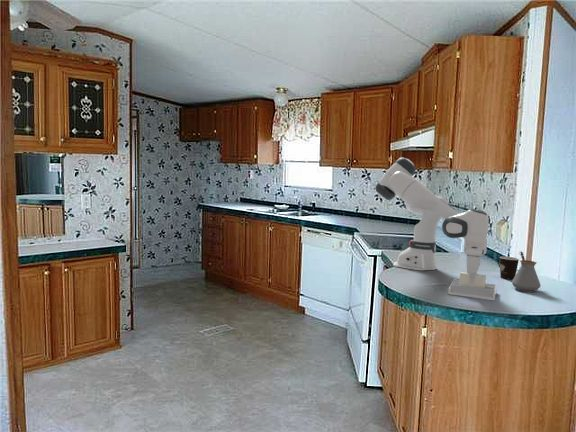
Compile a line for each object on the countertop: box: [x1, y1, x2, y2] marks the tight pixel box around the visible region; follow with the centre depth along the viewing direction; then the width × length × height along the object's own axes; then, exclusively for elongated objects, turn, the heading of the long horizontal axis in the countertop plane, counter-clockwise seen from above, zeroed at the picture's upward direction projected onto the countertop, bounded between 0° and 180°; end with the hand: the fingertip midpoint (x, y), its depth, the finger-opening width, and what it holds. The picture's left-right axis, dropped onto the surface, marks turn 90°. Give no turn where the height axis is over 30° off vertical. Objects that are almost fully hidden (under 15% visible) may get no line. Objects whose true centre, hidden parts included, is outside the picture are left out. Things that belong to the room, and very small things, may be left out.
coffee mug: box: [496, 256, 520, 281], centre depth 233 cm, size 12×9×10 cm
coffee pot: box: [511, 250, 542, 293], centre depth 214 cm, size 21×12×15 cm, turn 164°
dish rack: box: [447, 278, 497, 301], centre depth 200 cm, size 18×13×4 cm
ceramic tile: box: [459, 271, 487, 288], centre depth 197 cm, size 10×2×8 cm, turn 65°
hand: (472, 280), depth 197 cm, fingers open, 8 cm apart
